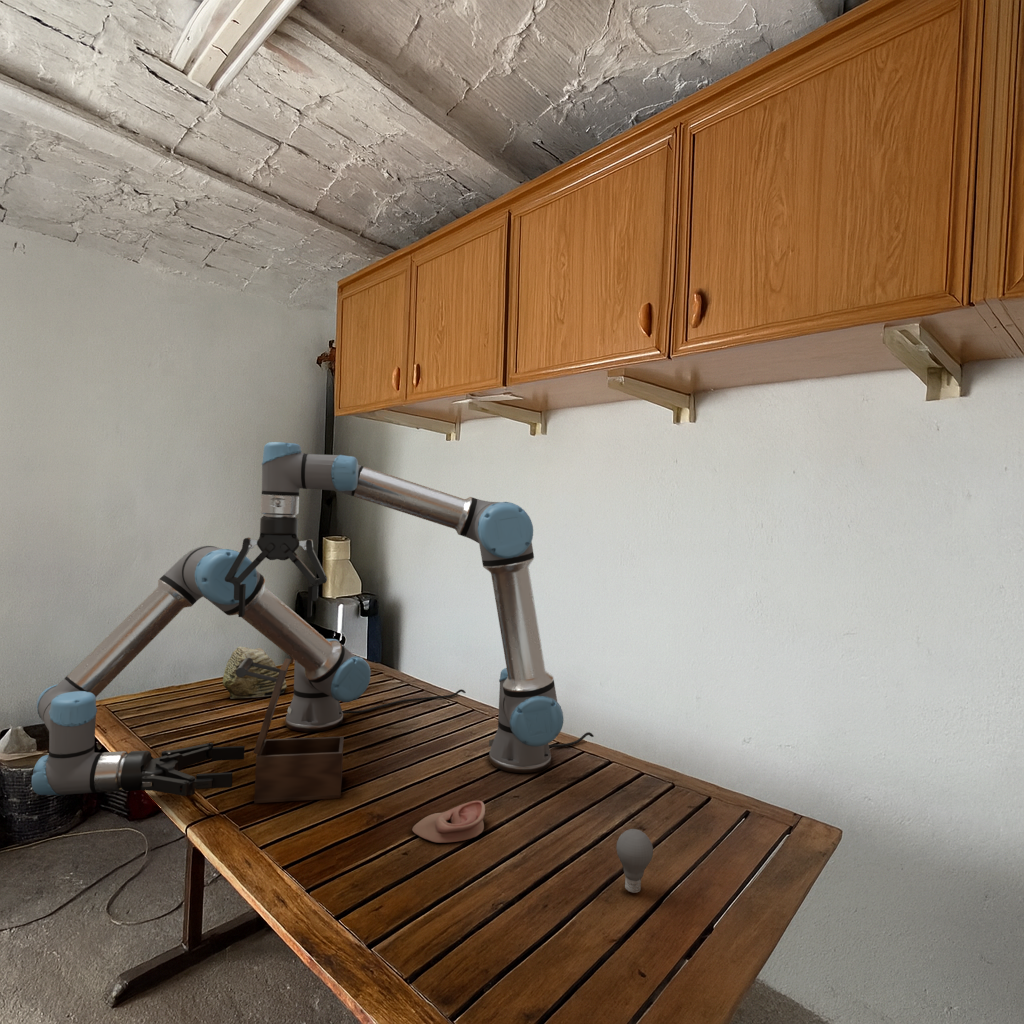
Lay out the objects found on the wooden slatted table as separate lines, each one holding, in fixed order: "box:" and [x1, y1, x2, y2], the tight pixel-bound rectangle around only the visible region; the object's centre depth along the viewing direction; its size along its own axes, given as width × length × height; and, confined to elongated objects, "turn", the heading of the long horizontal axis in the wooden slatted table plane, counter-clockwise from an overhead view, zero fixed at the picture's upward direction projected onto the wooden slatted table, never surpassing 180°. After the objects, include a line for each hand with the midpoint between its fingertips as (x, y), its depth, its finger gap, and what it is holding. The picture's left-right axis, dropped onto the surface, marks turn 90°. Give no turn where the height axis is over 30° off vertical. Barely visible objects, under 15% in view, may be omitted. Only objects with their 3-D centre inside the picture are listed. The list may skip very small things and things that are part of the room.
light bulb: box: [615, 828, 654, 894], centre depth 106 cm, size 6×6×10 cm
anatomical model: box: [411, 800, 486, 844], centre depth 123 cm, size 13×4×12 cm
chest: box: [253, 735, 345, 804], centre depth 136 cm, size 17×9×10 cm, turn 103°
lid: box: [236, 657, 292, 755], centre depth 134 cm, size 18×9×9 cm
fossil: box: [222, 646, 288, 699], centre depth 198 cm, size 9×18×15 cm, turn 132°
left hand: (238, 765), depth 133 cm, fingers open, 13 cm apart
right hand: (275, 616), depth 134 cm, fingers open, 13 cm apart
